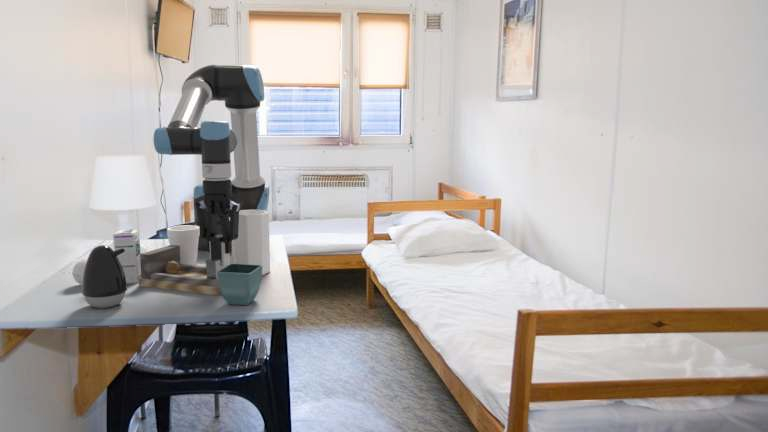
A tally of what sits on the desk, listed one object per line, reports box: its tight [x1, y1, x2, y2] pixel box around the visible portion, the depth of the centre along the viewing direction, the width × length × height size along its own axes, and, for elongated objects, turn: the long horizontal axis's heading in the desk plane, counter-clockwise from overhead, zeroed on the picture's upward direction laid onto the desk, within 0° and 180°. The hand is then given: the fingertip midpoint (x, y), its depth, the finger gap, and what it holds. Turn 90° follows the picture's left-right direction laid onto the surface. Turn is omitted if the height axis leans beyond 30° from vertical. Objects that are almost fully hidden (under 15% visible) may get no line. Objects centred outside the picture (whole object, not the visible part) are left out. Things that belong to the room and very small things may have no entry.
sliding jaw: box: [205, 234, 234, 279], centre depth 168 cm, size 3×8×12 cm, turn 160°
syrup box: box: [112, 229, 142, 285], centre depth 174 cm, size 6×6×14 cm
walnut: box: [165, 261, 180, 275], centre depth 174 cm, size 4×4×4 cm
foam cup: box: [166, 224, 200, 265], centre depth 188 cm, size 10×9×13 cm
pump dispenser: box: [81, 244, 128, 309], centre depth 151 cm, size 10×10×15 cm
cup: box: [231, 209, 271, 277], centre depth 184 cm, size 11×11×18 cm
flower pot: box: [217, 264, 263, 306], centre depth 155 cm, size 9×9×9 cm
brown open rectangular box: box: [138, 244, 222, 296], centre depth 171 cm, size 26×14×9 cm, turn 70°
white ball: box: [61, 258, 88, 286], centre depth 170 cm, size 10×7×7 cm
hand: (220, 264), depth 168 cm, fingers closed on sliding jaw, 3 cm apart
